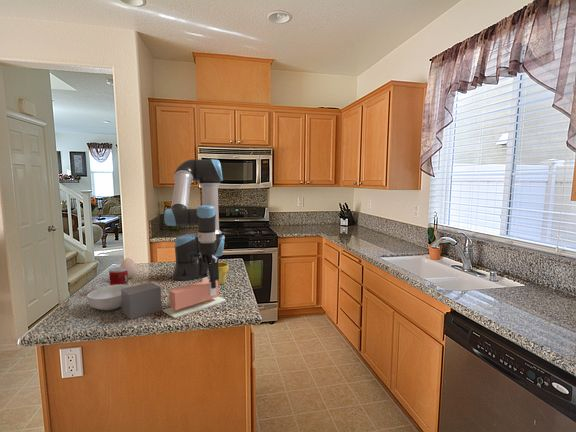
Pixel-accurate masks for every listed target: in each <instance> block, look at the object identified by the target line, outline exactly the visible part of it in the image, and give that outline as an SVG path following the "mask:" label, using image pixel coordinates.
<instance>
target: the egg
mask: <svg viewBox="0 0 576 432" xmlns="http://www.w3.org/2000/svg"><path fill="white" fill-rule="evenodd" d="M119 267H127V271H128V280H130V279H132V278H133V277H134V276H135V275H136V274H137V264H136V263H135V261H134V260H133V259H132V258H129V257H127V258H125V259H123V260H122V262H121V263H120V265H119Z"/></svg>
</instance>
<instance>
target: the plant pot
mask: <svg viewBox="0 0 576 432" xmlns="http://www.w3.org/2000/svg"><path fill="white" fill-rule="evenodd" d="M218 270H219V280H216V281H218V286H219V285H224V284H225V283H226V279H227V274H228V271H229V263H228V262H226V261H225V262H224V261H223V262H222V261H218Z"/></svg>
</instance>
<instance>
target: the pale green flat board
mask: <svg viewBox="0 0 576 432" xmlns="http://www.w3.org/2000/svg"><path fill="white" fill-rule="evenodd" d="M226 302H227V299H226V298H223V297H221V296H219V297H216V298H213V299H210V300H206V301H203V302H200V303H197V304H194V305H191V306H188V307H184V308H181V309H178V310H174V309H173V308H171V307H168V308H165V309H163V310H162V312H163V313H165V314H167V315H168V316H170V317H171V318H173V319H179V318H181V317H184V316H188V315H191V314H193V313H196V312H199V311H202V310H205V309H208V308H210V307H213V306H216V305H219V304H222V303H226Z"/></svg>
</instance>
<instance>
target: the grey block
mask: <svg viewBox="0 0 576 432" xmlns="http://www.w3.org/2000/svg"><path fill="white" fill-rule="evenodd" d="M131 286H132V287H128V288H123V289H121V296H122V306H121V307H122V314H123V313H124V314H123V315H124V316H126V317H127V318H128V317H129V318H130V319H129V318H128V319H129V320H131V319H132V320H135V319H138V317H139V318H141V316H142V317H145V316H148V315H151V313H152V314H154V313H158V312H160V311H163V310H162V308H163V307H162V306H163V305H162V293H163V292H164V288H163V287H164V286H163V285H160V284H159V283H157V282H155V281H150V282H144V283H142V284H137V285H131ZM134 318H135V319H134Z"/></svg>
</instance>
